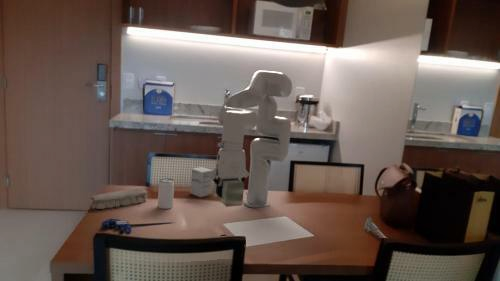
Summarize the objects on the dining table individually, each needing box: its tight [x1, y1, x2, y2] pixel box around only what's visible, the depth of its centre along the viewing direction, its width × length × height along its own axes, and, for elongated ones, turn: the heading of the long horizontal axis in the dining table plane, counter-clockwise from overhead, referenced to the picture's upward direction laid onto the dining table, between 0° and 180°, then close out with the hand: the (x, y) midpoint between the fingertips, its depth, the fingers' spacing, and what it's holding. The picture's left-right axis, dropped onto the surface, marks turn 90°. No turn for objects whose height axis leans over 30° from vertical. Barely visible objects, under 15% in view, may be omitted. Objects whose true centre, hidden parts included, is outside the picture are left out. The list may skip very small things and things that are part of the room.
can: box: [157, 177, 175, 210], centre depth 163 cm, size 6×6×12 cm
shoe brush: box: [90, 188, 148, 210], centre depth 162 cm, size 24×8×5 cm, turn 132°
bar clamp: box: [100, 218, 174, 234], centre depth 143 cm, size 32×2×10 cm
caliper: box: [364, 216, 387, 239], centre depth 151 cm, size 20×1×6 cm, turn 17°
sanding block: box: [212, 175, 245, 208], centre depth 134 cm, size 12×6×8 cm, turn 28°
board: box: [222, 215, 315, 247], centre depth 147 cm, size 20×30×2 cm, turn 119°
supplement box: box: [189, 166, 214, 198], centre depth 183 cm, size 7×7×13 cm
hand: (227, 194), depth 135 cm, fingers closed on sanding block, 6 cm apart
